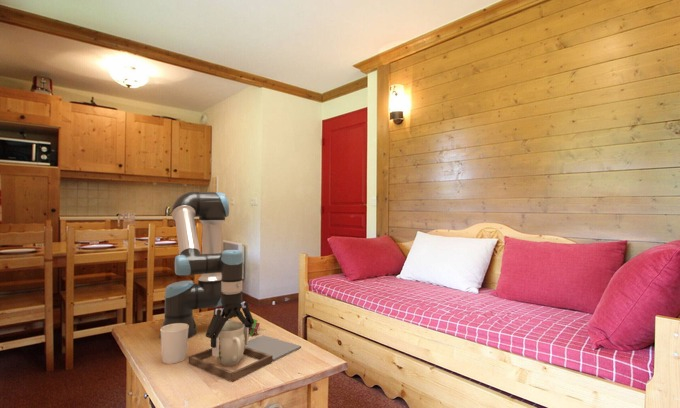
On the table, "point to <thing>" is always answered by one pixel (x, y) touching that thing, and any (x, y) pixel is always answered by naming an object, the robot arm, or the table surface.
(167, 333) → the candle holder
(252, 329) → the geometric puzzle
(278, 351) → the slate board
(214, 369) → the frame
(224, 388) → the table surface
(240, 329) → the pitcher
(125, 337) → the table surface
